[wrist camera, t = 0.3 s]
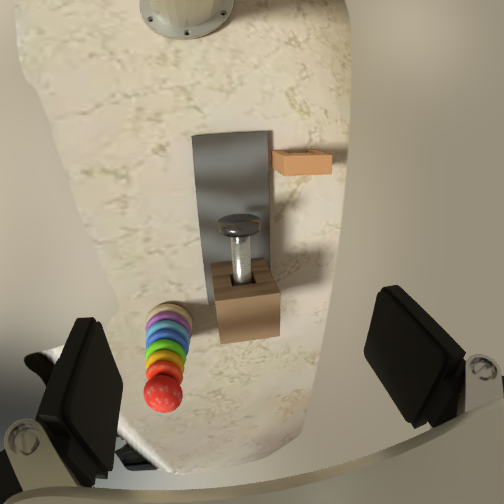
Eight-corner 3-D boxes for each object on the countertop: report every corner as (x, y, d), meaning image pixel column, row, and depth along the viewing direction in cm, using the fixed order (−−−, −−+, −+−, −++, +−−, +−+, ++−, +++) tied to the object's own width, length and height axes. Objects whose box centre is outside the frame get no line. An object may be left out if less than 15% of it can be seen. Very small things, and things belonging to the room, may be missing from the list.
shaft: (216, 215, 40) (219, 229, 35) (256, 212, 41) (264, 225, 36) (225, 314, 47) (229, 336, 42) (259, 310, 48) (266, 331, 43)
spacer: (271, 150, 42) (283, 156, 36) (315, 149, 42) (332, 155, 37) (272, 167, 43) (283, 176, 37) (314, 166, 44) (331, 174, 38)
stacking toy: (194, 303, 50) (199, 392, 33) (190, 340, 53) (195, 428, 36) (146, 299, 48) (131, 387, 31) (146, 336, 51) (136, 424, 34)
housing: (191, 136, 39) (190, 142, 29) (265, 131, 40) (289, 137, 30) (208, 302, 50) (213, 347, 40) (268, 294, 51) (286, 337, 41)
